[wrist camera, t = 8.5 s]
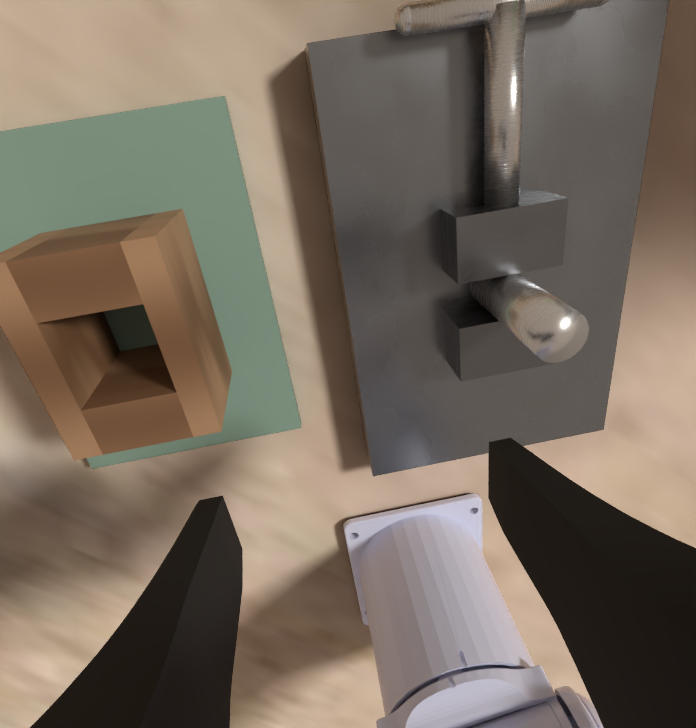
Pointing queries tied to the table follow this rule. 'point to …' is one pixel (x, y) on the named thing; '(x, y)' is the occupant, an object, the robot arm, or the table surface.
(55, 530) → the table surface
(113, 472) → the table surface
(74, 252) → the sleeve block
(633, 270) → the table surface
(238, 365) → the mat
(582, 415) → the vise
